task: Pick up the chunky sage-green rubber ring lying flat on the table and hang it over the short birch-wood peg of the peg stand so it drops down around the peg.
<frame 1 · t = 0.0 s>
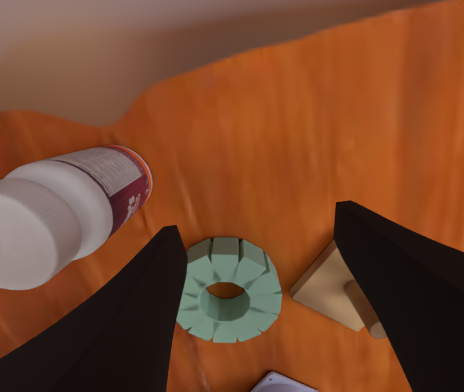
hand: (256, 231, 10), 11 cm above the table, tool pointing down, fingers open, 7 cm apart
ring: (225, 280, 24), on the table
pill bottle: (122, 177, 21), on the table
peg stand: (348, 279, 24), on the table
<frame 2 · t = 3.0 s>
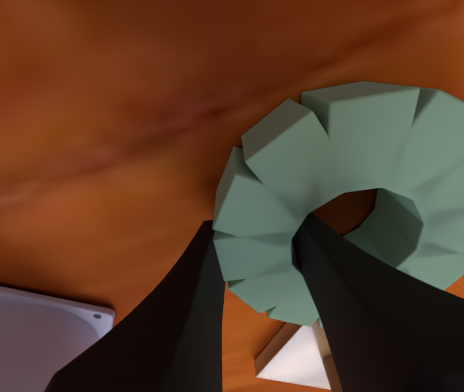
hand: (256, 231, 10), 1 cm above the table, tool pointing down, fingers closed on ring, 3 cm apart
ring: (326, 204, 11), on the table, touching gripper
peg stand: (329, 342, 18), on the table
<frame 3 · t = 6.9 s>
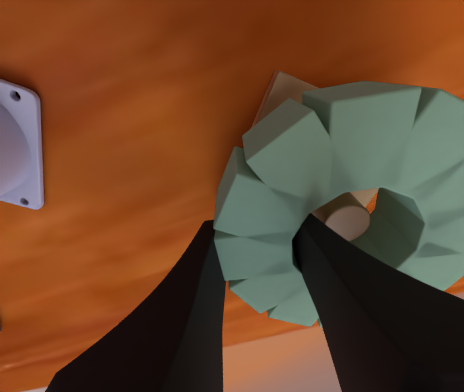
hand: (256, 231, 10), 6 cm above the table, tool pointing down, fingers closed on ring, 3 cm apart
ring: (326, 204, 11), point 4 cm above the table, touching gripper
peg stand: (306, 170, 15), on the table
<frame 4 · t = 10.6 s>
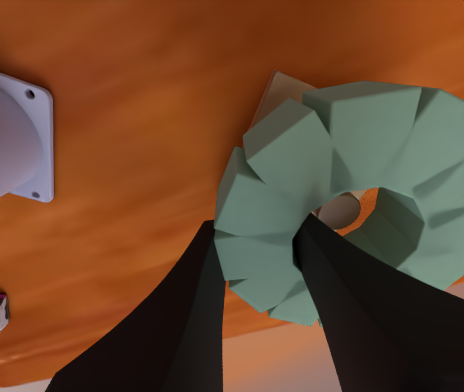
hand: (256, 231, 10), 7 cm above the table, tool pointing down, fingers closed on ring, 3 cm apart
ring: (326, 203, 11), point 5 cm above the table, touching gripper
peg stand: (302, 164, 16), on the table
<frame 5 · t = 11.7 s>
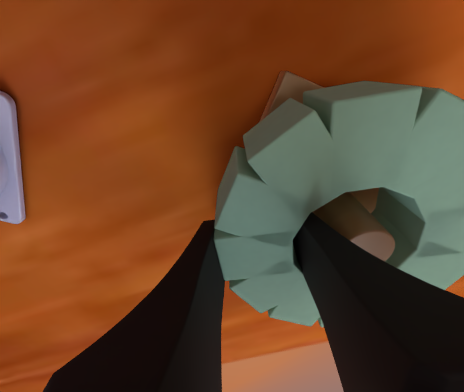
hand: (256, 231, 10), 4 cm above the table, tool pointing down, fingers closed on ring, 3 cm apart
ring: (327, 203, 11), point 3 cm above the table, touching gripper
peg stand: (314, 180, 14), on the table
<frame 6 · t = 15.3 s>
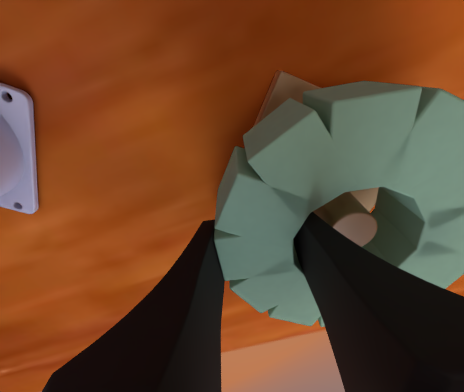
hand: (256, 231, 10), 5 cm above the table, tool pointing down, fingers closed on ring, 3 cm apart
ring: (327, 203, 11), point 4 cm above the table, touching gripper
peg stand: (308, 173, 14), on the table
when the fingers open (7 cm above the table, at t = 18.4 s): ring drops 4 cm, resting on peg stand.
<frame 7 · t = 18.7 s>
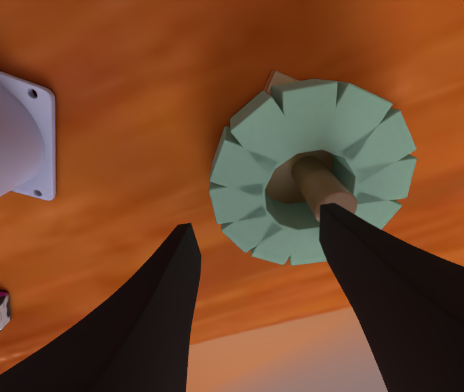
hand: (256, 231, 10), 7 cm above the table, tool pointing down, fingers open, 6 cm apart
ring: (295, 171, 15), point 1 cm above the table, touching peg stand
peg stand: (301, 163, 16), on the table
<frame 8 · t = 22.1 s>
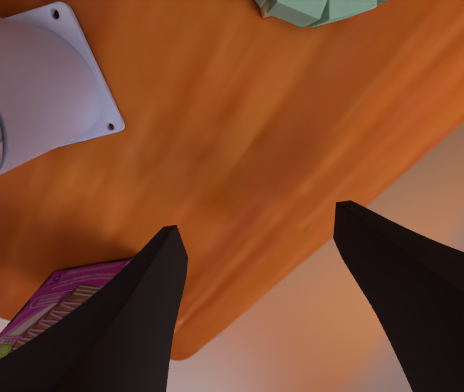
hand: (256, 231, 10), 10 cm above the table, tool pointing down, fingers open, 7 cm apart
candy bar box: (107, 274, 26), on the table
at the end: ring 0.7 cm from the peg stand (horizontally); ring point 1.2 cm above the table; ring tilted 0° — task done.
